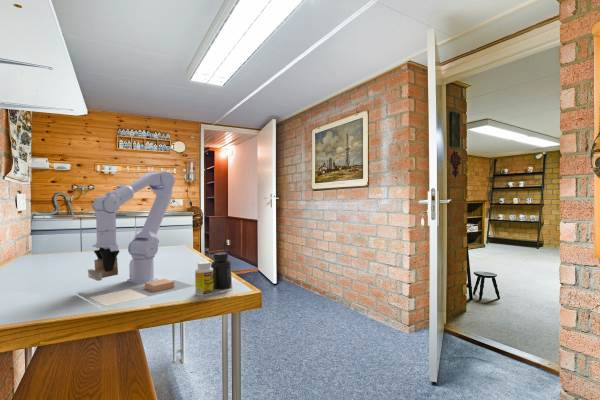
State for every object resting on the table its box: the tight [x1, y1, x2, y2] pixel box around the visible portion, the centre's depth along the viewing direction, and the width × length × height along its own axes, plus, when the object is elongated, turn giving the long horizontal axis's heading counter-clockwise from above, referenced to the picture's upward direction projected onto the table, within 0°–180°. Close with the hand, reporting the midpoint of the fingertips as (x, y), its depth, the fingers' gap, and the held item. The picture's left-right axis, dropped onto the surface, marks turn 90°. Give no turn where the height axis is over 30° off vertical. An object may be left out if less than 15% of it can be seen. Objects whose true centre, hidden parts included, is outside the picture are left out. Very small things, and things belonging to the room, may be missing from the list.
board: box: [89, 279, 194, 307], centre depth 106 cm, size 14×28×1 cm, turn 140°
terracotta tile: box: [144, 278, 174, 292], centre depth 110 cm, size 7×7×2 cm
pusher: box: [87, 256, 119, 282], centre depth 109 cm, size 7×9×6 cm
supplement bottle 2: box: [211, 251, 233, 290], centre depth 110 cm, size 7×7×12 cm
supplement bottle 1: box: [194, 260, 214, 297], centre depth 103 cm, size 6×6×10 cm
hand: (106, 270), depth 109 cm, fingers closed on pusher, 3 cm apart
